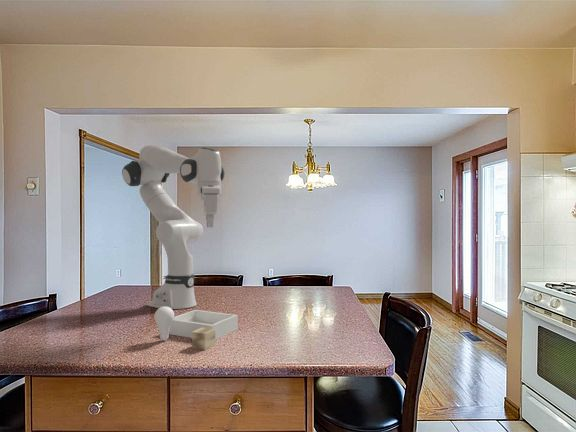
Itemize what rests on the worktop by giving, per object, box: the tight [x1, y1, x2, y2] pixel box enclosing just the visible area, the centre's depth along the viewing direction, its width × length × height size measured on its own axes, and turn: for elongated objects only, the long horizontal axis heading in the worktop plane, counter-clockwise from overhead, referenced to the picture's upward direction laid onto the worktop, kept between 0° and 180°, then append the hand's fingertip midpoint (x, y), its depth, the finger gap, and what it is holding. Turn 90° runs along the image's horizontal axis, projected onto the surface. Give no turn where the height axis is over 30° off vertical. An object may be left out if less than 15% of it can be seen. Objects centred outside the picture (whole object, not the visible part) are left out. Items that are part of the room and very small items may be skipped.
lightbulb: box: [153, 306, 175, 342], centre depth 122 cm, size 6×6×11 cm
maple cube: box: [191, 328, 216, 351], centre depth 117 cm, size 5×5×5 cm
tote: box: [169, 309, 239, 341], centre depth 132 cm, size 19×15×5 cm
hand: (209, 227), depth 143 cm, fingers open, 8 cm apart
